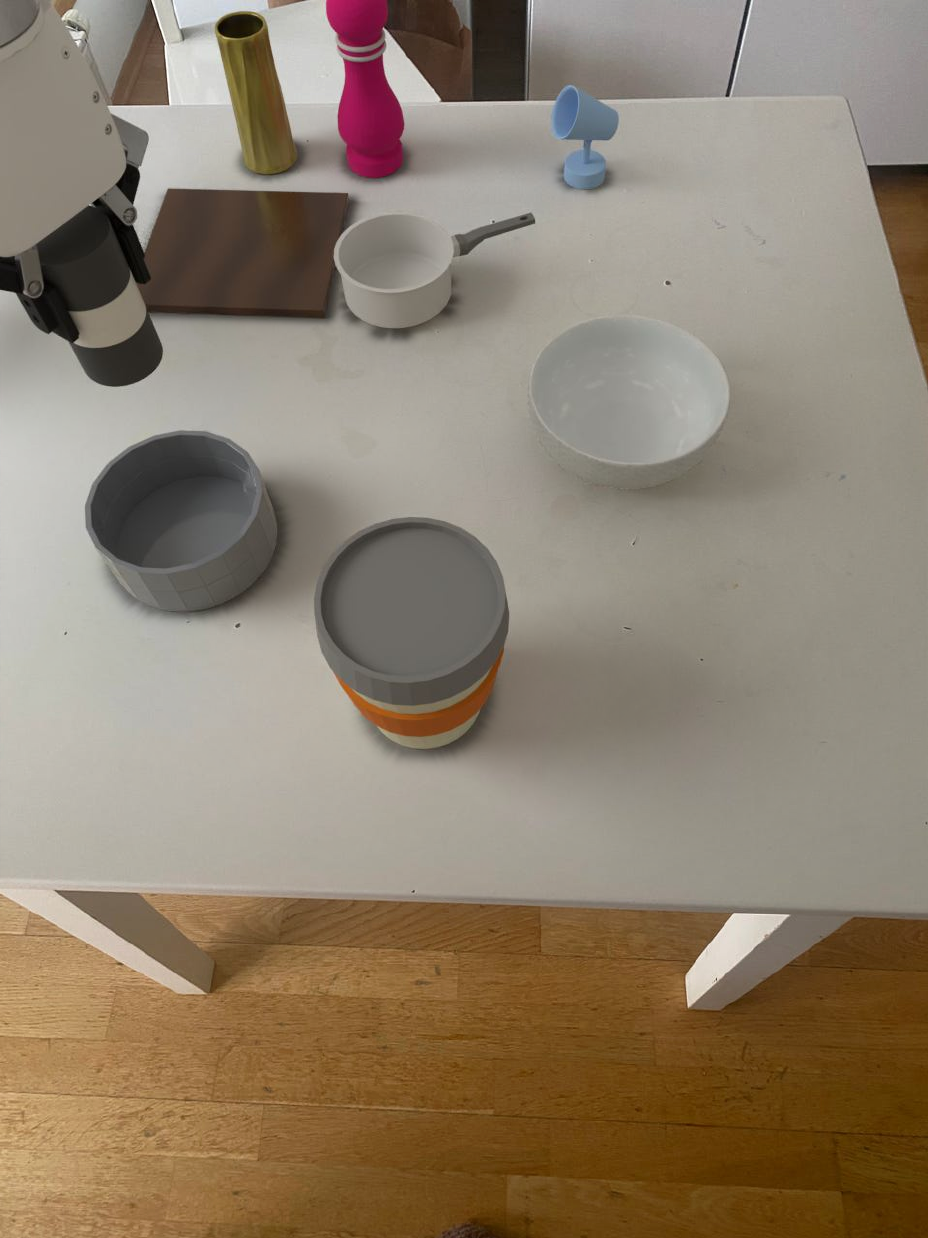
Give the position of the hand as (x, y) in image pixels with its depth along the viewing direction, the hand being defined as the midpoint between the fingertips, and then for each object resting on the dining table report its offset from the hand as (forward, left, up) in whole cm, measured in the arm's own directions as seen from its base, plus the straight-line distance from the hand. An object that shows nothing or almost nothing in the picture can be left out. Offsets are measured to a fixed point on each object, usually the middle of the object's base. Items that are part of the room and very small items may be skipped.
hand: (96, 300), depth 58 cm
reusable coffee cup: (+21, -16, -23) cm, 35 cm away
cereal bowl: (+36, +10, -23) cm, 44 cm away
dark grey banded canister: (0, 0, -5) cm, 5 cm away
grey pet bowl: (0, -3, -23) cm, 23 cm away
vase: (-3, +49, -23) cm, 54 cm away
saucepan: (+18, +29, -23) cm, 42 cm away
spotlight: (+32, +47, -23) cm, 62 cm away
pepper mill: (+9, +49, -23) cm, 55 cm away
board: (-3, +33, -23) cm, 40 cm away
